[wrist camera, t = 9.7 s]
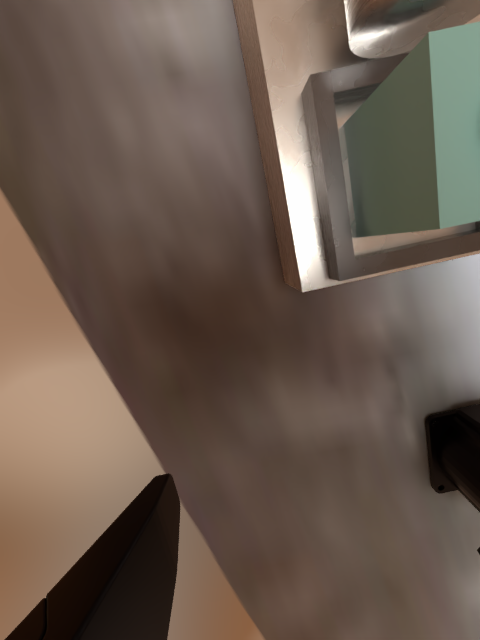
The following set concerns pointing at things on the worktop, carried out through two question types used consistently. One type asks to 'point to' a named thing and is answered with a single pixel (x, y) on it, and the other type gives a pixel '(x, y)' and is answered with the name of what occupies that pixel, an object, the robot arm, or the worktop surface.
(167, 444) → the worktop surface
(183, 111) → the worktop surface
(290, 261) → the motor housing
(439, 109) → the green block with knob
